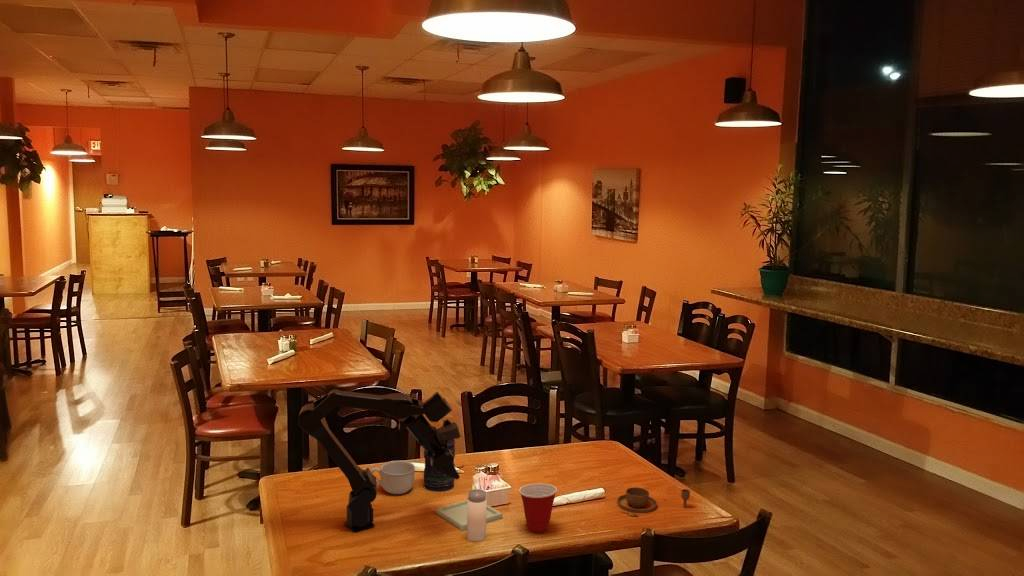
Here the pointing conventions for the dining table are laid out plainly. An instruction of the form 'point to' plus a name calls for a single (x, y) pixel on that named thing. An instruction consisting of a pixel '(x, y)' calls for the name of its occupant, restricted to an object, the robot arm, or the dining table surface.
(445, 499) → the dining table surface
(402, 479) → the teacup
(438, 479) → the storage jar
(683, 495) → the place setting
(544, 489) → the plastic cup
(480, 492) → the salt shaker
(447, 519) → the tray
